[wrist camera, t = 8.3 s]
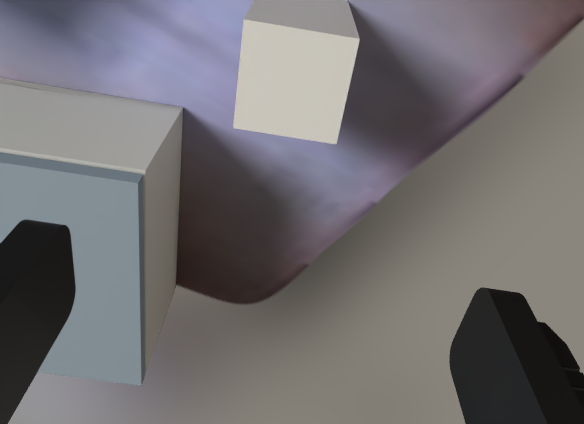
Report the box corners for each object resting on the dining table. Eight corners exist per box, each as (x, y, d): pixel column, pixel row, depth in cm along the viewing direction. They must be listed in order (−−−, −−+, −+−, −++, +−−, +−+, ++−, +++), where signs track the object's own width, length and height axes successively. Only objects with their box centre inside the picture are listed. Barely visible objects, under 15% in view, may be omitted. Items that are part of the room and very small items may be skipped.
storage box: (-98, 62, 29) (-222, 114, 22) (183, 107, 30) (145, 170, 23) (-48, 255, 36) (-129, 337, 30) (175, 286, 37) (145, 373, 30)
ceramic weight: (261, -15, 26) (243, 19, 19) (347, 0, 26) (359, 39, 19) (252, 71, 28) (233, 128, 22) (330, 84, 29) (336, 144, 22)
